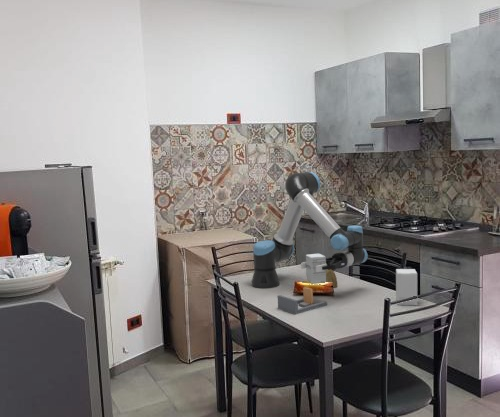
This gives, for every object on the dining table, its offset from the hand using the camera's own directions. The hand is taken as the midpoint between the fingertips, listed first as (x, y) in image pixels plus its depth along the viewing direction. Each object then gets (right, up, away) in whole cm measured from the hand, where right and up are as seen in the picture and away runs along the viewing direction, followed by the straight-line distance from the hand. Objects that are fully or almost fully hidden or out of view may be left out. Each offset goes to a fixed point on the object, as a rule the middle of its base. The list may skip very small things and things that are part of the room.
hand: (308, 267), depth 241 cm
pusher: (-1, -18, 0) cm, 18 cm away
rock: (+14, -14, +33) cm, 39 cm away
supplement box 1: (+4, -7, +4) cm, 9 cm away
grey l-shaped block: (-2, -18, 0) cm, 18 cm away
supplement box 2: (+45, -16, -1) cm, 48 cm away
